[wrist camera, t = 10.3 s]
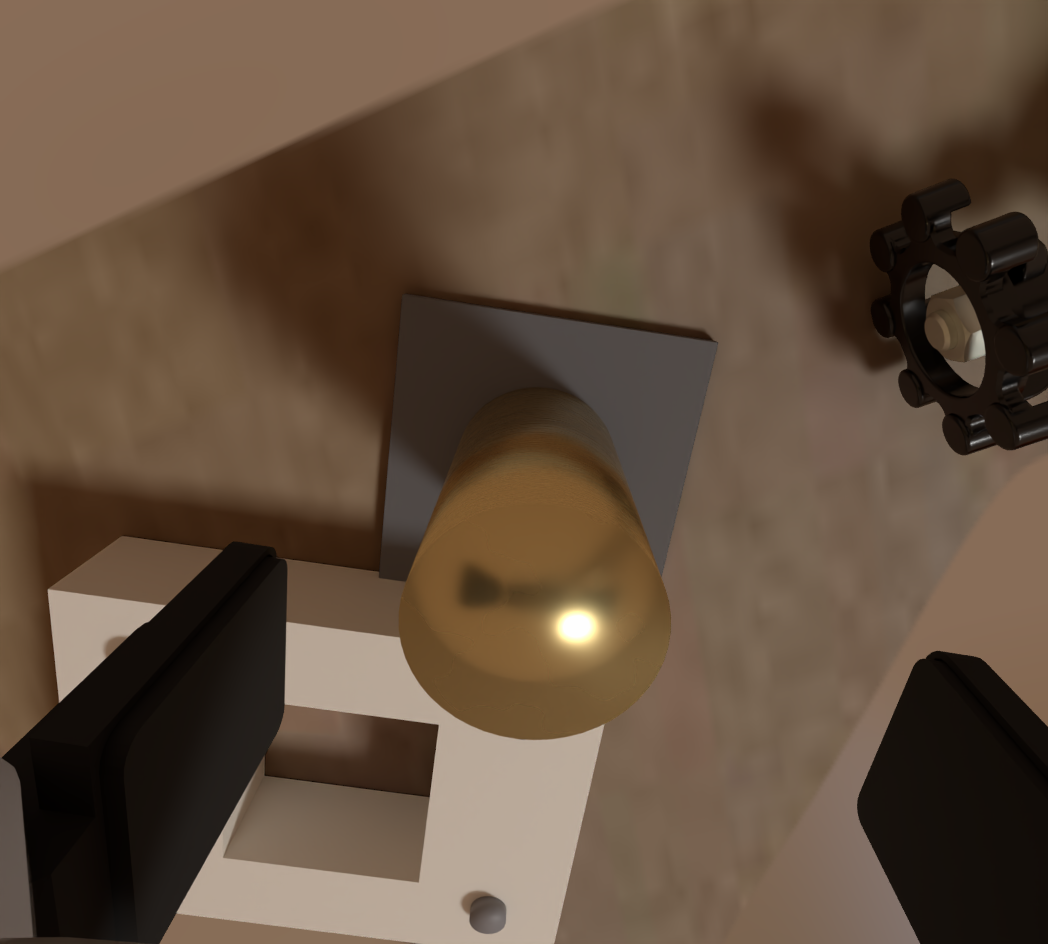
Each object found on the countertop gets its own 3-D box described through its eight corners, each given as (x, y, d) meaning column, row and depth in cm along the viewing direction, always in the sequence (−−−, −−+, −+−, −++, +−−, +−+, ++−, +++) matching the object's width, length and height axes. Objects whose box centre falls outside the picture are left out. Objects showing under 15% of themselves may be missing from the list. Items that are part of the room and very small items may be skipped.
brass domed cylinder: (629, 399, 20) (698, 524, 11) (601, 546, 21) (642, 754, 13) (466, 376, 19) (409, 486, 11) (450, 526, 21) (389, 723, 13)
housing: (605, 603, 22) (618, 676, 19) (548, 868, 26) (550, 971, 23) (121, 535, 22) (37, 596, 18) (138, 816, 26) (71, 912, 22)
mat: (714, 340, 19) (718, 342, 19) (649, 609, 22) (651, 616, 22) (404, 293, 19) (402, 294, 19) (381, 572, 22) (378, 578, 22)
